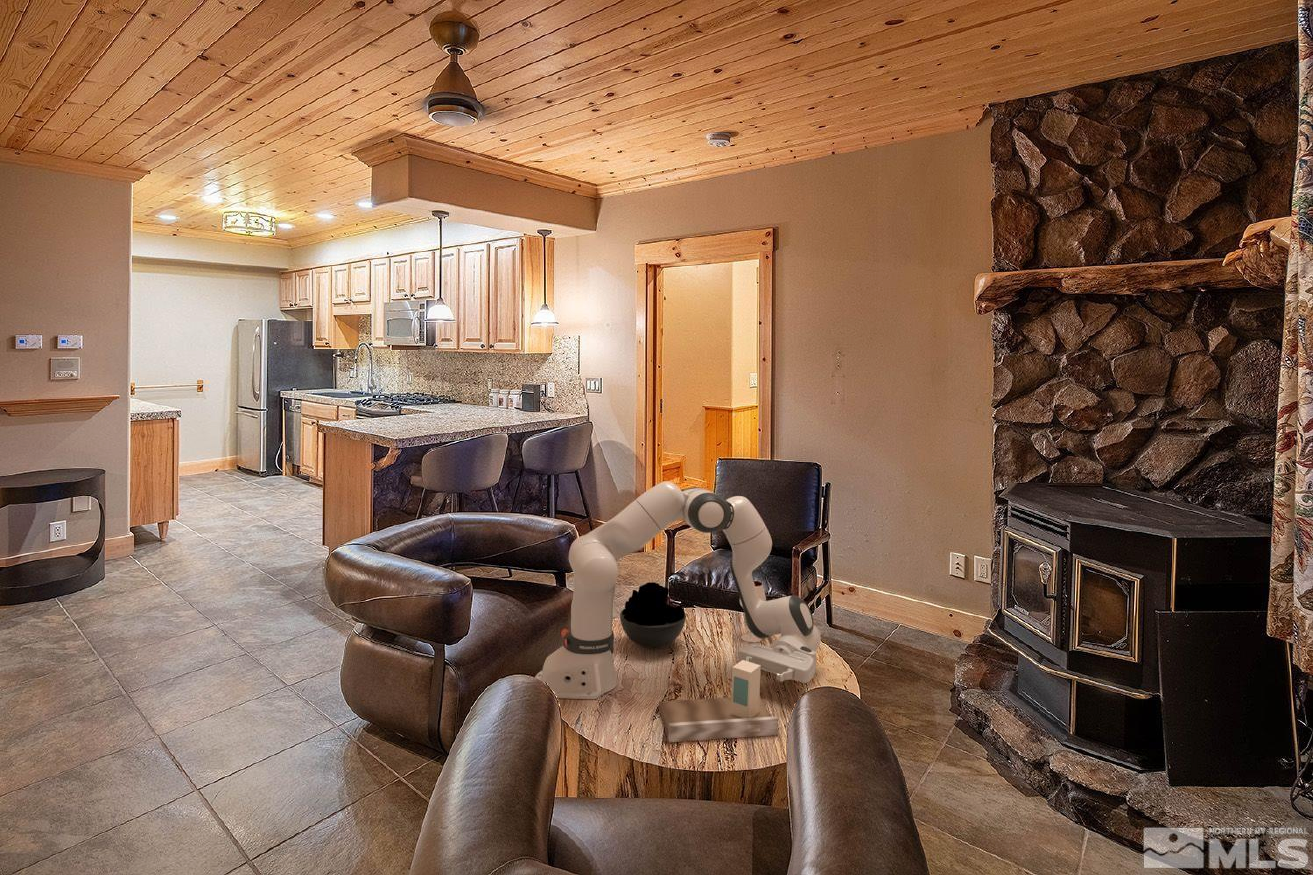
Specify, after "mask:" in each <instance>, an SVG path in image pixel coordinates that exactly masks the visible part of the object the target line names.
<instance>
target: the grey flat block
mask: <svg viewBox="0 0 1313 875" xmlns="http://www.w3.org/2000/svg"><path fill="white" fill-rule="evenodd" d="M731 697H732V696H731ZM731 697H715V698H714V697H713V698H700V699H699V698H698V699H697V698H696V699H681V700H680V699H679V700H664V701H663V700H662V701H659V702H658V711H659V714H660V716H661V720H662V724H663V726H664V730H665V733H666V736H667V739H668V742H669V743H676V742H693V741H695V742H696V741H708V740H722V739H723V738H725V739H736V738H751V737H752V738H753V737H765V736H766V737H767V736H778V735H779V717H778V716H775V715H771V713H770V711H769V710H768V708H767V707H766V705H765V704H764V703H765V702H764V701H763V700H762V698H761V696H760V697H759V712H758V713H757V714H756V715H755V716H754V717H752V718H741V717H738V716H736V715H733V714H731ZM723 740H724V739H723Z"/></svg>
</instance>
